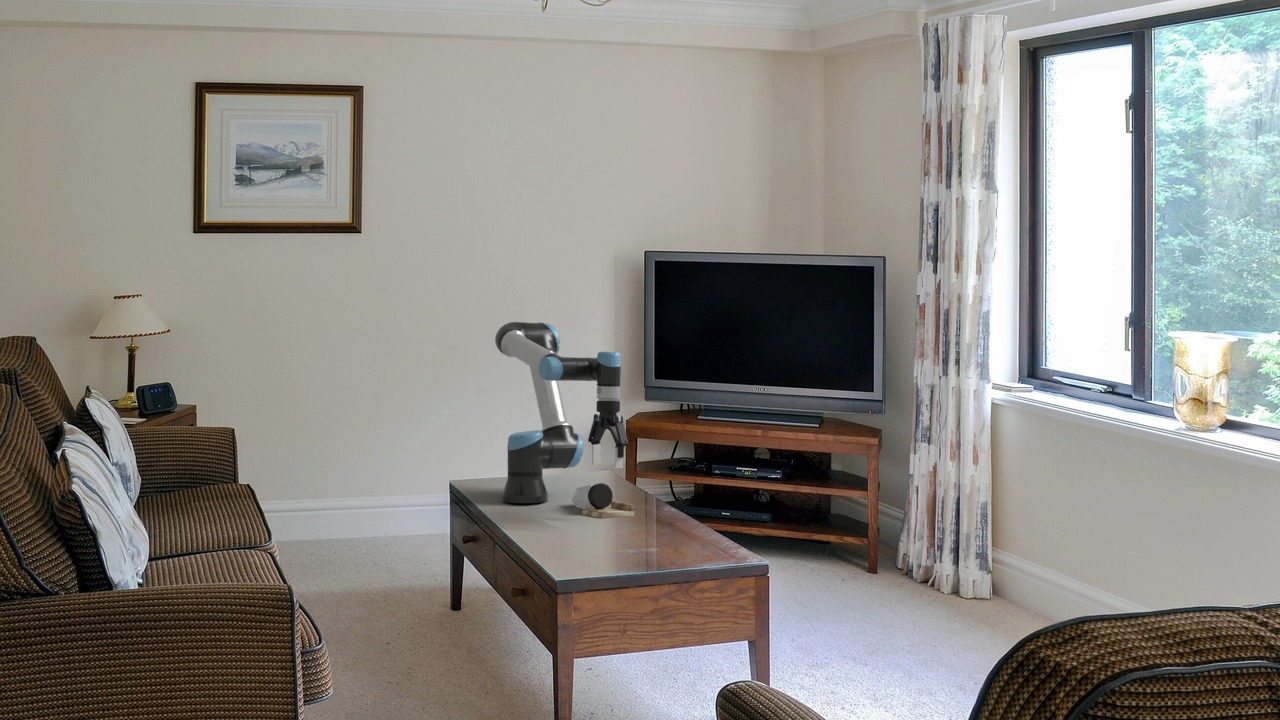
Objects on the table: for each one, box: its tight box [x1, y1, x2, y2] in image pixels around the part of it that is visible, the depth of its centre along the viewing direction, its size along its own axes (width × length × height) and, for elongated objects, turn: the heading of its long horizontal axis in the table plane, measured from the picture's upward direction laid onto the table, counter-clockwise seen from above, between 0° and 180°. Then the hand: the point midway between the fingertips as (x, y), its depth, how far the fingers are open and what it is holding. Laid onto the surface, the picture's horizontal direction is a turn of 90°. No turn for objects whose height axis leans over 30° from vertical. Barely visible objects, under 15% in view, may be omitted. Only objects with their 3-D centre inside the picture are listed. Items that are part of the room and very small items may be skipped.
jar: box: [571, 482, 614, 510], centre depth 355 cm, size 9×8×12 cm
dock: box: [581, 501, 635, 519], centre depth 348 cm, size 12×12×4 cm
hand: (607, 466), depth 349 cm, fingers open, 13 cm apart
